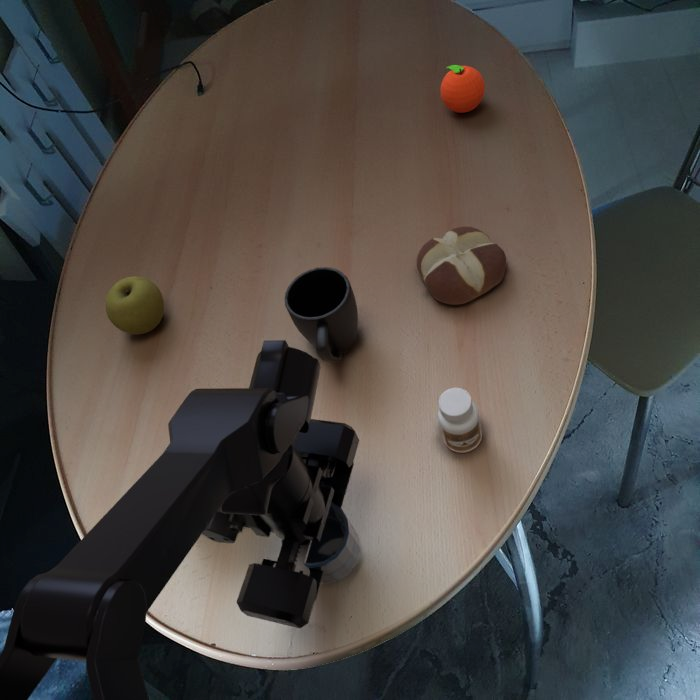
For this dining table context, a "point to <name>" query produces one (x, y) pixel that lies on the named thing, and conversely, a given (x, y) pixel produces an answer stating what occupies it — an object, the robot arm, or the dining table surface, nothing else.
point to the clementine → (462, 88)
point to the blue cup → (334, 547)
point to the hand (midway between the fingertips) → (325, 546)
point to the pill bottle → (459, 420)
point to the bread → (461, 265)
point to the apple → (135, 305)
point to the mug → (324, 311)
